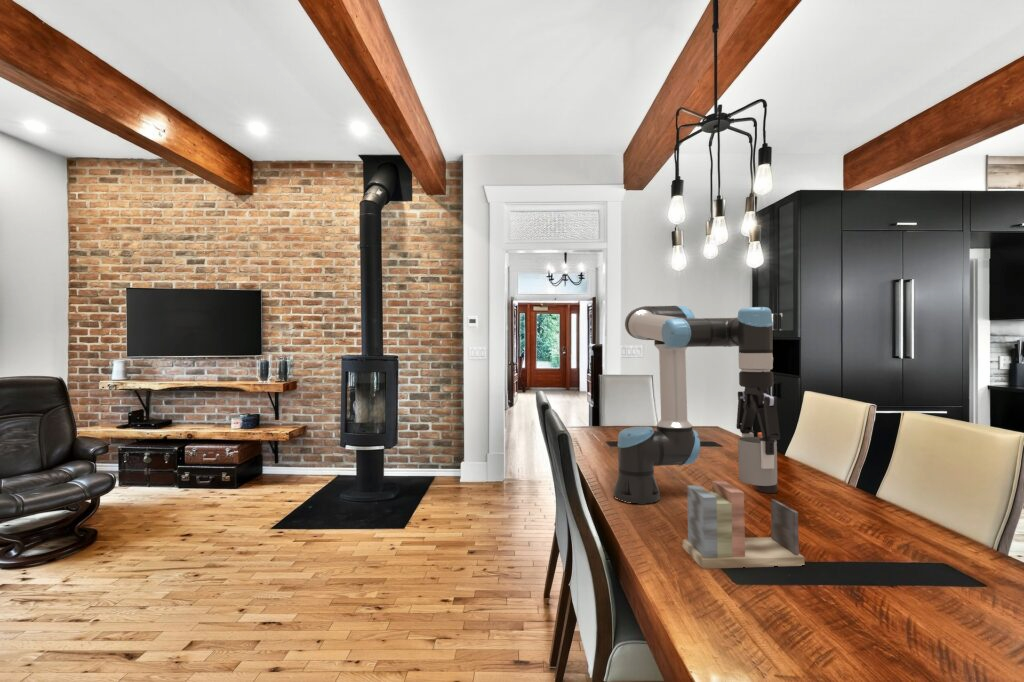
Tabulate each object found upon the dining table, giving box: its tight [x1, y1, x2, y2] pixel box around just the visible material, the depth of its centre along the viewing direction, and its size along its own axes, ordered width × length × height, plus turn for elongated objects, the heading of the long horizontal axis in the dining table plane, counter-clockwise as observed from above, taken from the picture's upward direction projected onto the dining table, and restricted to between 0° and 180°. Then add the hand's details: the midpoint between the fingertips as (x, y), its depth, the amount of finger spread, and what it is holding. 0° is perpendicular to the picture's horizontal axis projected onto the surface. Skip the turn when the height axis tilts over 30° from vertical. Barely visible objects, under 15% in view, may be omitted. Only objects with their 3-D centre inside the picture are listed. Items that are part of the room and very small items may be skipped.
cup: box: [737, 436, 778, 486], centre depth 121 cm, size 8×8×10 cm
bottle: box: [755, 431, 778, 494], centre depth 172 cm, size 7×7×20 cm
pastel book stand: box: [682, 480, 805, 570], centre depth 120 cm, size 12×24×17 cm, turn 92°
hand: (757, 463), depth 121 cm, fingers closed on cup, 8 cm apart
